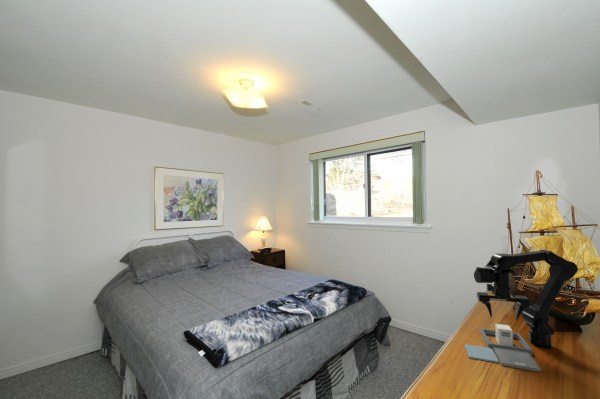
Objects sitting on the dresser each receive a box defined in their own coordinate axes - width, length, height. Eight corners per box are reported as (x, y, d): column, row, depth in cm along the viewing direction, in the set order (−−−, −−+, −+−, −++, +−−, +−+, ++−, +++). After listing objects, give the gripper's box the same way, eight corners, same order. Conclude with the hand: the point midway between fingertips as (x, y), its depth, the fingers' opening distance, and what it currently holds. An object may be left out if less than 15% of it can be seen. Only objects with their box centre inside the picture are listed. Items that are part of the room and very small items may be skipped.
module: (509, 341, 120) (508, 325, 120) (513, 347, 115) (512, 330, 115) (495, 339, 122) (495, 323, 122) (499, 345, 117) (498, 328, 117)
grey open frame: (519, 337, 122) (518, 333, 122) (546, 372, 97) (546, 367, 97) (480, 332, 128) (480, 328, 128) (496, 364, 103) (496, 359, 103)
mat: (491, 349, 113) (491, 348, 113) (498, 362, 104) (498, 361, 104) (464, 345, 117) (464, 344, 117) (468, 357, 108) (468, 356, 108)
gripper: (521, 279, 123) (522, 314, 122) (473, 276, 130) (474, 309, 130) (531, 286, 112) (532, 324, 112) (478, 283, 120) (480, 318, 119)
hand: (503, 318), depth 118 cm, fingers open, 9 cm apart
